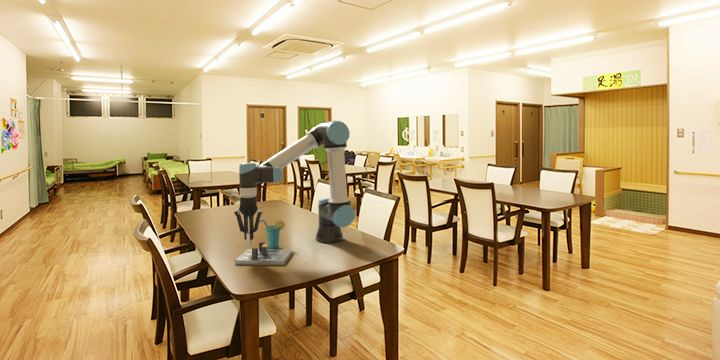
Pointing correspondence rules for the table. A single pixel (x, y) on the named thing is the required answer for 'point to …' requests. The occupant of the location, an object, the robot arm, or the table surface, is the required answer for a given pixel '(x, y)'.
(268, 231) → the cup
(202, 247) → the table surface
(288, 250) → the panel
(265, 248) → the block
